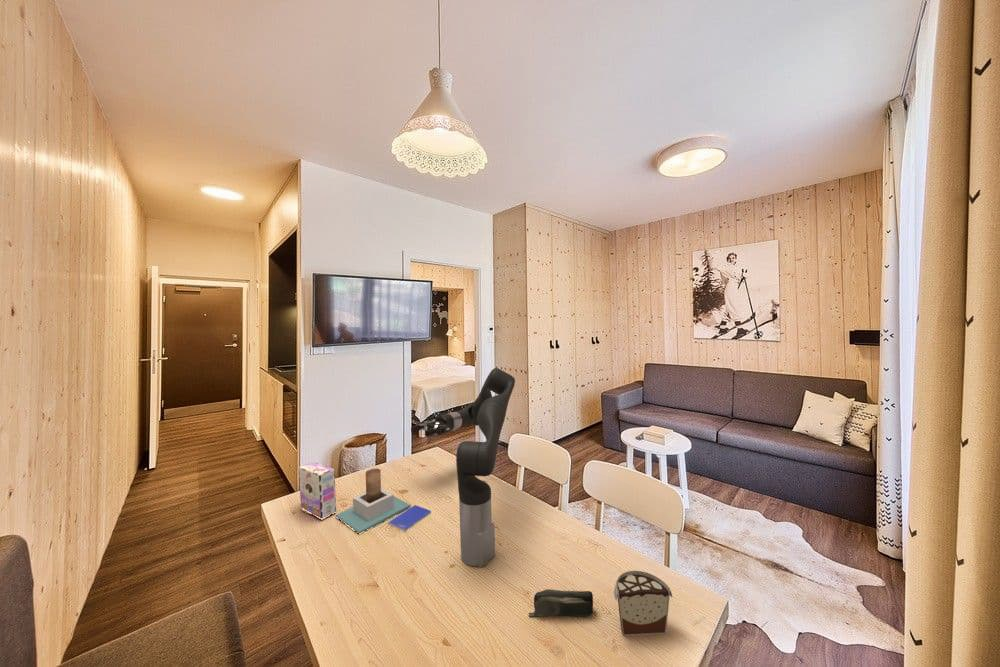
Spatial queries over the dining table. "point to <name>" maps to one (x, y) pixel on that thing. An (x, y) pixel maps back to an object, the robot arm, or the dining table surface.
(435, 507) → the dining table surface
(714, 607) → the dining table surface
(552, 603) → the black pencil case
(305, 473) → the candy box
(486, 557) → the robot arm
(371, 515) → the socket plate
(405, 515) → the hard drive
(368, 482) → the walnut peg
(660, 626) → the chocolate drizzled cake
